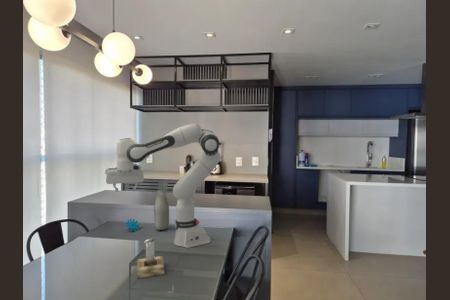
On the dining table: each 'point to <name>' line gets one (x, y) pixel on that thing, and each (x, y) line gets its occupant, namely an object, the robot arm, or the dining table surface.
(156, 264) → the socket block
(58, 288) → the dining table surface
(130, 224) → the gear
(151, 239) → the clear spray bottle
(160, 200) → the glass bottle
